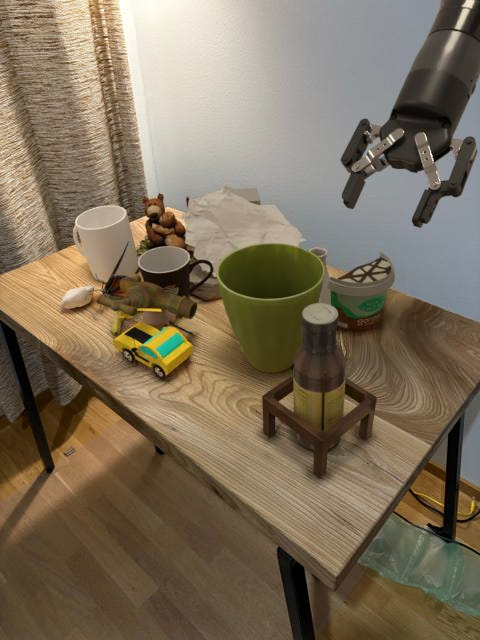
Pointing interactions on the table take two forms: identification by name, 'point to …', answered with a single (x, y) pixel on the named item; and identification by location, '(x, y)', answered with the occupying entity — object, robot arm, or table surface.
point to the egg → (158, 318)
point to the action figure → (148, 299)
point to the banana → (117, 323)
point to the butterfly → (113, 282)
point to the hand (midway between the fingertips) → (380, 215)
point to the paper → (232, 226)
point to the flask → (325, 293)
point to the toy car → (153, 346)
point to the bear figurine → (162, 229)
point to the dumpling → (77, 297)
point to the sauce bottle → (319, 371)
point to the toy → (248, 194)
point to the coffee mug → (170, 269)
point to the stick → (181, 328)
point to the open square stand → (309, 433)
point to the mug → (106, 241)
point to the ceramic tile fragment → (204, 284)
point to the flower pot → (269, 299)
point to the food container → (362, 294)
